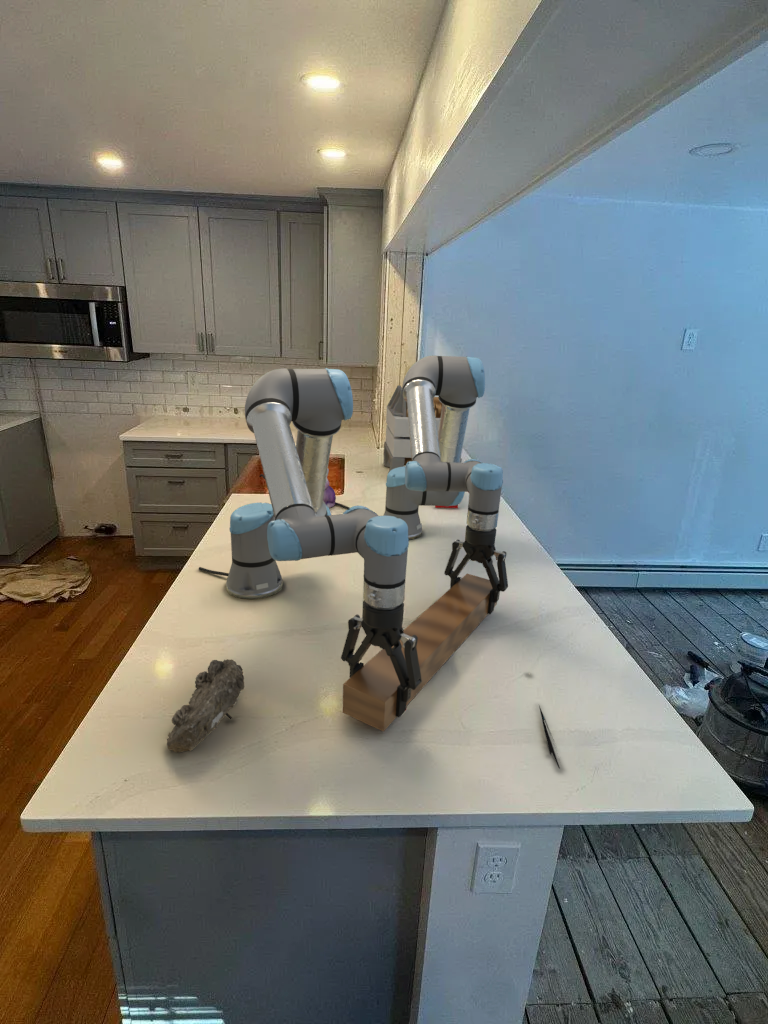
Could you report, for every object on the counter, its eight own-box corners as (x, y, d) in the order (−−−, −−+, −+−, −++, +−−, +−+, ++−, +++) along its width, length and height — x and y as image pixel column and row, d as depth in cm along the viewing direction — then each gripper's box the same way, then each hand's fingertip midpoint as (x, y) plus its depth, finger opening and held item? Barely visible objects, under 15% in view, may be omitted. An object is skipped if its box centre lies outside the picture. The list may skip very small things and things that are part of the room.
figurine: (318, 511, 218) (318, 473, 213) (309, 502, 226) (309, 466, 221) (341, 508, 222) (341, 471, 217) (331, 500, 231) (331, 464, 226)
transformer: (382, 463, 289) (386, 382, 275) (445, 464, 293) (451, 384, 279) (390, 482, 257) (394, 392, 243) (460, 483, 261) (468, 394, 247)
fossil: (192, 660, 117) (244, 628, 112) (224, 691, 120) (276, 661, 115) (142, 746, 98) (202, 712, 93) (182, 779, 101) (242, 748, 96)
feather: (529, 679, 125) (535, 673, 125) (559, 773, 99) (566, 766, 98) (523, 675, 125) (528, 669, 125) (551, 768, 98) (558, 761, 98)
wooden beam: (464, 595, 155) (467, 573, 153) (496, 604, 151) (499, 582, 148) (342, 712, 108) (342, 684, 106) (383, 731, 104) (385, 702, 101)
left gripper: (322, 591, 105) (321, 692, 113) (427, 628, 94) (419, 737, 102) (345, 577, 111) (343, 673, 119) (447, 610, 100) (437, 713, 108)
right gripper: (434, 521, 143) (428, 600, 150) (519, 541, 132) (507, 625, 140) (447, 512, 149) (441, 589, 156) (529, 532, 138) (517, 612, 146)
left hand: (378, 703), depth 110 cm, fingers closed on wooden beam, 9 cm apart
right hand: (472, 606), depth 148 cm, fingers closed on wooden beam, 9 cm apart
